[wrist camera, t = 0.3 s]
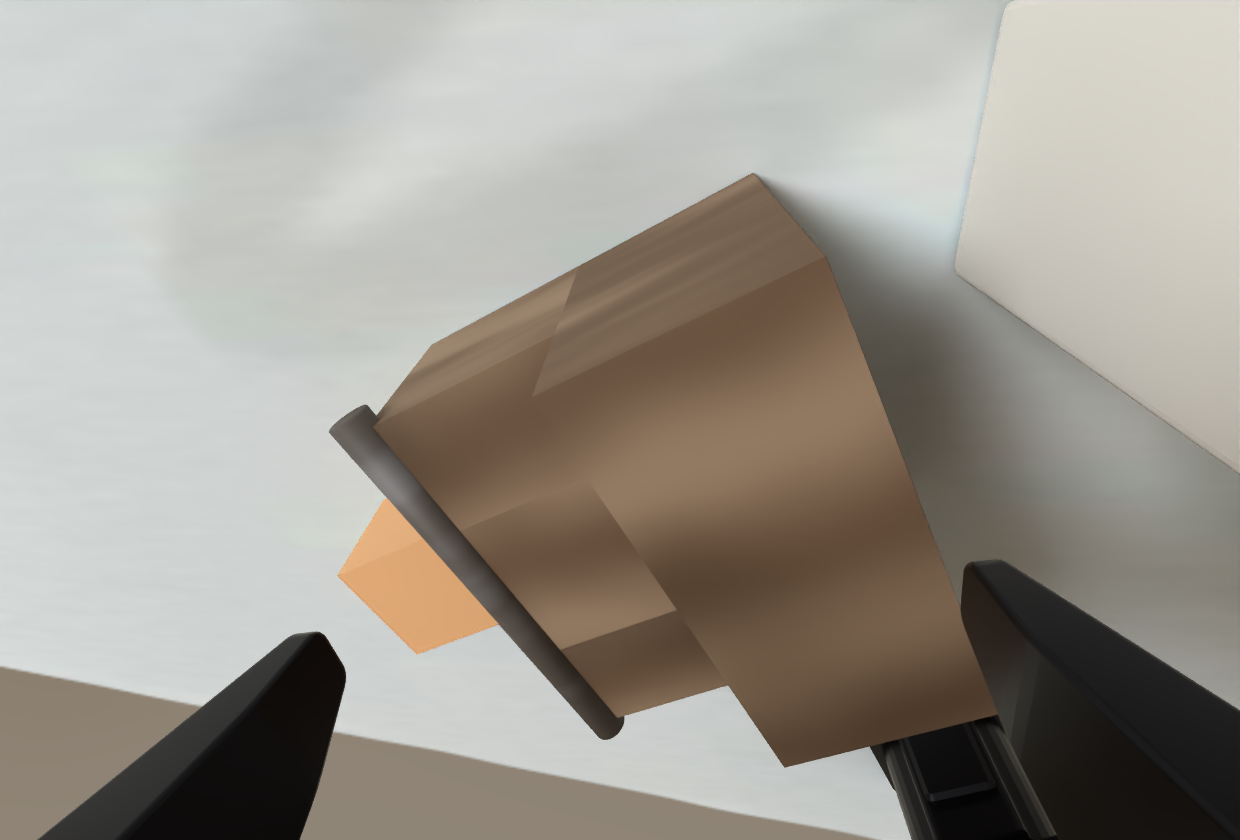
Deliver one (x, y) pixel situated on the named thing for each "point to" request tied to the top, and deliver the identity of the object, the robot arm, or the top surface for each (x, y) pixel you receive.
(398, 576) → the orange rectangular block
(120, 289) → the top surface
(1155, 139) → the milk carton
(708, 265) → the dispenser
